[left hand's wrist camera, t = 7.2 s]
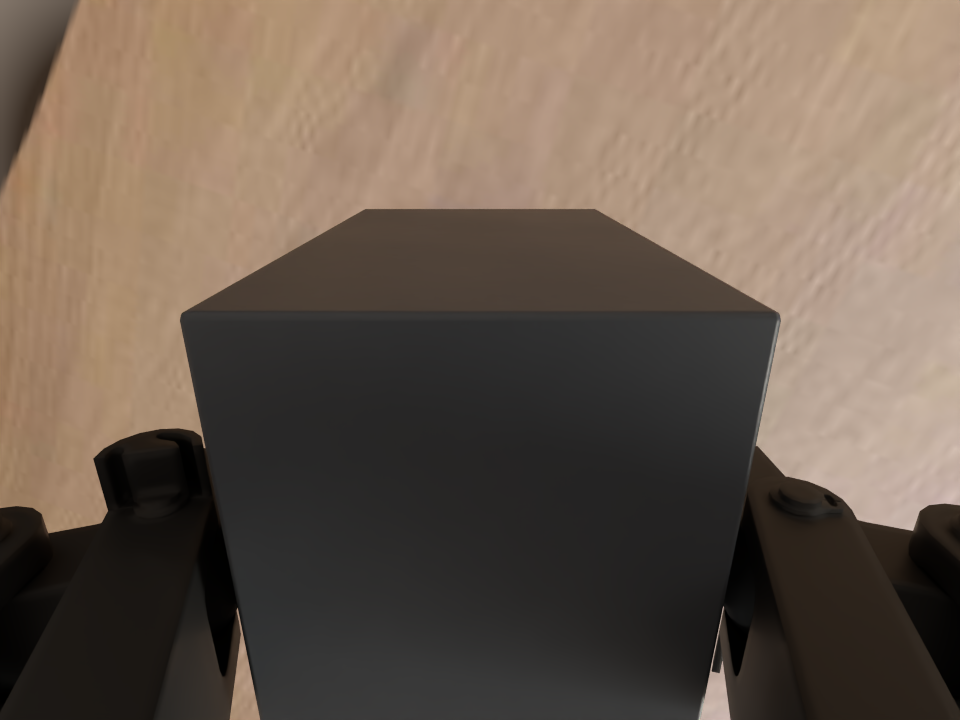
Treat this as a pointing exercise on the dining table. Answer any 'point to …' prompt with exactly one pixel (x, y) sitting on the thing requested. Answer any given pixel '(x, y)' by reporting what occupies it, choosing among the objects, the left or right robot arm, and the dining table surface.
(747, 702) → the left robot arm
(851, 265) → the dining table surface
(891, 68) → the dining table surface
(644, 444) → the bar
